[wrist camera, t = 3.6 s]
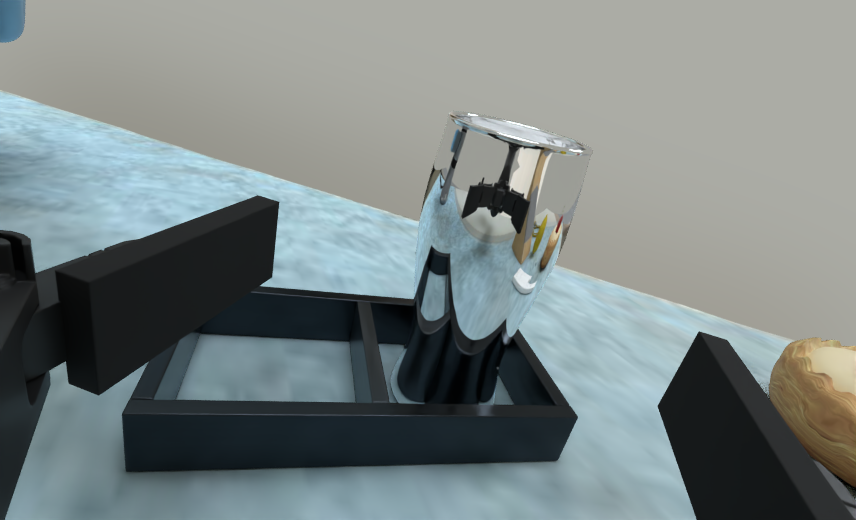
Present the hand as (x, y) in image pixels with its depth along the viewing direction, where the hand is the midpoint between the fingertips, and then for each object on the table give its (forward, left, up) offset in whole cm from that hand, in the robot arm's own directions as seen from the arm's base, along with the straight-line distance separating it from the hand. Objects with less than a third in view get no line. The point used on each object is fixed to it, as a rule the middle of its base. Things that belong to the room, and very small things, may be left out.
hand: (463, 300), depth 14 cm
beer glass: (-8, +4, -11) cm, 14 cm away
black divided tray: (-8, -1, -10) cm, 13 cm away
